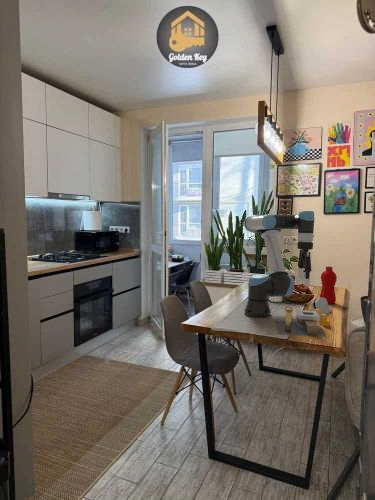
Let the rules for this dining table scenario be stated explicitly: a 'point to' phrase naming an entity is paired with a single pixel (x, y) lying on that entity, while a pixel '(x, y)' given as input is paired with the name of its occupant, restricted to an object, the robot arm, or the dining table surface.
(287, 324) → the brass pin
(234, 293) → the dining table surface
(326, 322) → the pipe clamp
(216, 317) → the dining table surface
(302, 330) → the mat
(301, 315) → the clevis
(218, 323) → the dining table surface
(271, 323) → the dining table surface
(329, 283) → the water bottle
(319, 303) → the grey rounded block
